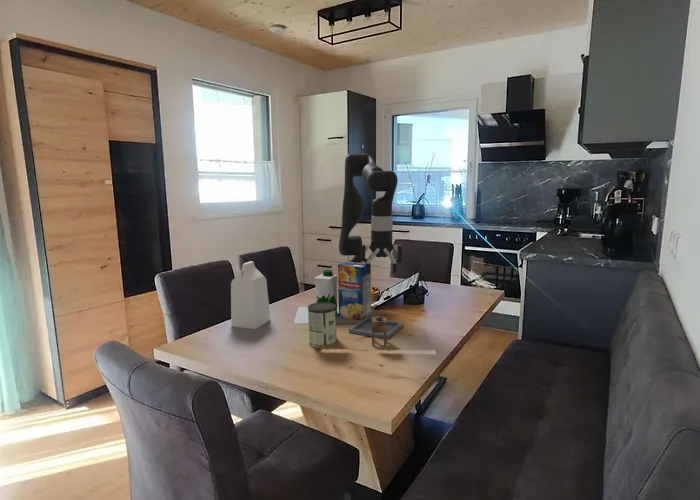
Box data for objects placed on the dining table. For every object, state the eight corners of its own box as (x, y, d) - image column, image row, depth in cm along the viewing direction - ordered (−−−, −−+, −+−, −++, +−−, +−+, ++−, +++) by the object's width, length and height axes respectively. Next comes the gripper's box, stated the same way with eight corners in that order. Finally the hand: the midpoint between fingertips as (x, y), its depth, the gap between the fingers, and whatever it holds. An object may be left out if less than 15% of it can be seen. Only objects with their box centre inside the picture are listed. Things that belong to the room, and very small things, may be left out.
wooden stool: (372, 348, 149) (372, 319, 148) (372, 343, 154) (372, 314, 152) (386, 349, 149) (386, 319, 147) (386, 343, 154) (386, 314, 152)
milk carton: (339, 314, 189) (339, 270, 186) (331, 320, 181) (330, 274, 178) (322, 312, 193) (321, 269, 189) (313, 317, 184) (312, 273, 181)
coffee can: (315, 336, 162) (314, 301, 160) (340, 339, 159) (340, 303, 156) (304, 346, 152) (302, 308, 150) (330, 349, 149) (329, 311, 147)
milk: (255, 329, 171) (252, 266, 167) (231, 326, 175) (227, 264, 171) (270, 319, 182) (267, 260, 178) (247, 317, 186) (244, 259, 182)
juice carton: (338, 319, 182) (337, 264, 179) (347, 314, 189) (346, 261, 185) (362, 323, 176) (362, 267, 173) (371, 318, 183) (371, 264, 179)
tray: (348, 335, 163) (348, 329, 162) (366, 323, 177) (366, 317, 176) (387, 342, 155) (387, 335, 155) (402, 328, 169) (402, 322, 169)
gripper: (360, 230, 145) (361, 275, 148) (402, 230, 144) (401, 276, 147) (361, 227, 152) (362, 271, 155) (401, 227, 151) (400, 271, 154)
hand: (381, 273), depth 151 cm, fingers open, 8 cm apart
